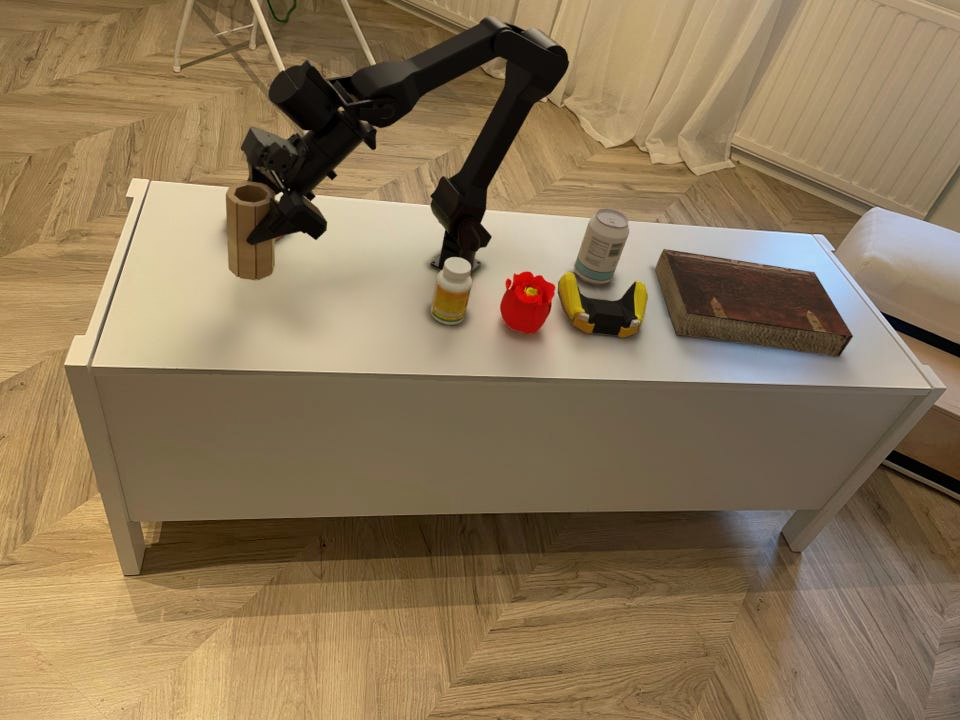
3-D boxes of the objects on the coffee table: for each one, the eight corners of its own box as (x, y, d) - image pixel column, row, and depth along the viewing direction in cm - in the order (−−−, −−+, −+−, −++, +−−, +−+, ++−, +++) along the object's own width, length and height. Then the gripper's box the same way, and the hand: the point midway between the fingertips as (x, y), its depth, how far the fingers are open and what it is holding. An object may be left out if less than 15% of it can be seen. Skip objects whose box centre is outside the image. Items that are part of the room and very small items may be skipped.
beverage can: (609, 268, 138) (631, 211, 130) (612, 291, 133) (634, 233, 125) (572, 261, 138) (591, 202, 130) (572, 283, 133) (592, 224, 125)
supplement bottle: (427, 303, 121) (436, 253, 115) (460, 303, 123) (471, 254, 116) (433, 326, 117) (443, 275, 111) (467, 326, 119) (479, 276, 113)
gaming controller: (551, 293, 129) (558, 332, 122) (560, 267, 126) (567, 305, 118) (637, 304, 132) (649, 343, 124) (648, 278, 128) (660, 317, 121)
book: (802, 291, 145) (814, 269, 142) (838, 358, 131) (853, 336, 128) (654, 268, 141) (664, 246, 138) (675, 336, 127) (686, 312, 124)
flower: (488, 313, 122) (498, 272, 117) (529, 306, 126) (541, 266, 120) (511, 345, 117) (523, 305, 112) (554, 337, 121) (567, 297, 116)
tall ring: (257, 250, 113) (257, 177, 105) (282, 271, 111) (283, 198, 103) (221, 262, 110) (217, 188, 102) (245, 284, 107) (244, 210, 99)
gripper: (258, 78, 102) (177, 160, 104) (306, 147, 91) (215, 238, 93) (313, 129, 111) (237, 204, 113) (363, 198, 100) (278, 280, 102)
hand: (241, 229), depth 105 cm, fingers closed on tall ring, 6 cm apart
